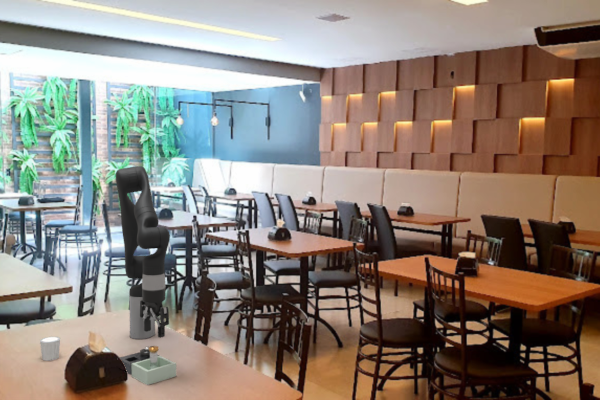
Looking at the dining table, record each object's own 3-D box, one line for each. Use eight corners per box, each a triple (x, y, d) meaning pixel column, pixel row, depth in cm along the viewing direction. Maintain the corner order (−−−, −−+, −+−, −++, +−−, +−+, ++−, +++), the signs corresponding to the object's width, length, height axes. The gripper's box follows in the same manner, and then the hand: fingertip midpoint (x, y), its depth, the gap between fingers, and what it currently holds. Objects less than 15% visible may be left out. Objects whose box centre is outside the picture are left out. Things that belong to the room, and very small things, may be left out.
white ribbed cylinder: (53, 362, 205) (52, 343, 205) (36, 360, 207) (35, 341, 206) (64, 355, 212) (64, 337, 211) (48, 353, 213) (47, 335, 213)
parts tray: (160, 368, 201) (160, 355, 200) (176, 376, 194) (176, 363, 193) (131, 376, 193) (131, 363, 193) (147, 385, 186) (147, 371, 186)
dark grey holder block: (148, 359, 209) (148, 342, 209) (161, 365, 203) (161, 348, 202) (117, 367, 201) (117, 350, 200) (130, 374, 194) (130, 356, 194)
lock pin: (155, 370, 196) (155, 345, 195) (160, 373, 193) (160, 347, 193) (147, 373, 193) (146, 347, 193) (152, 376, 191) (152, 349, 190)
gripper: (175, 288, 189) (175, 336, 190) (152, 281, 198) (152, 326, 200) (155, 292, 183) (155, 341, 185) (132, 284, 193) (133, 331, 195)
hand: (154, 333), depth 192 cm, fingers open, 8 cm apart
